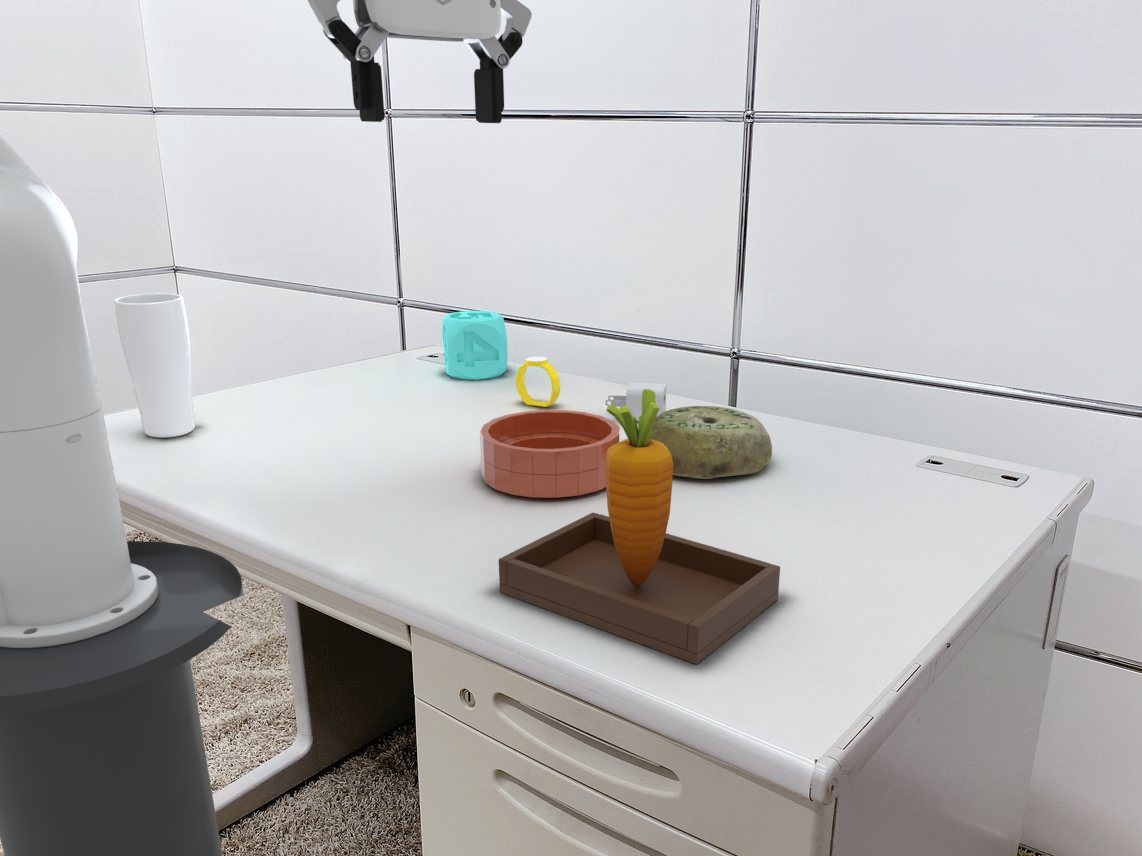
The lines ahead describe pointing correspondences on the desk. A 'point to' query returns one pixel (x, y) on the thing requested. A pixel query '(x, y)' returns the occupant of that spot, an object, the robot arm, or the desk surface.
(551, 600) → the tray
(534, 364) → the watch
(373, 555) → the desk surface
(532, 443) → the bowl
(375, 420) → the desk surface
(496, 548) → the desk surface
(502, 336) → the decorative dice
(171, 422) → the drinking glass
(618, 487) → the carrot
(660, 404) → the usb wall charger
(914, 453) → the desk surface
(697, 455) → the weight
